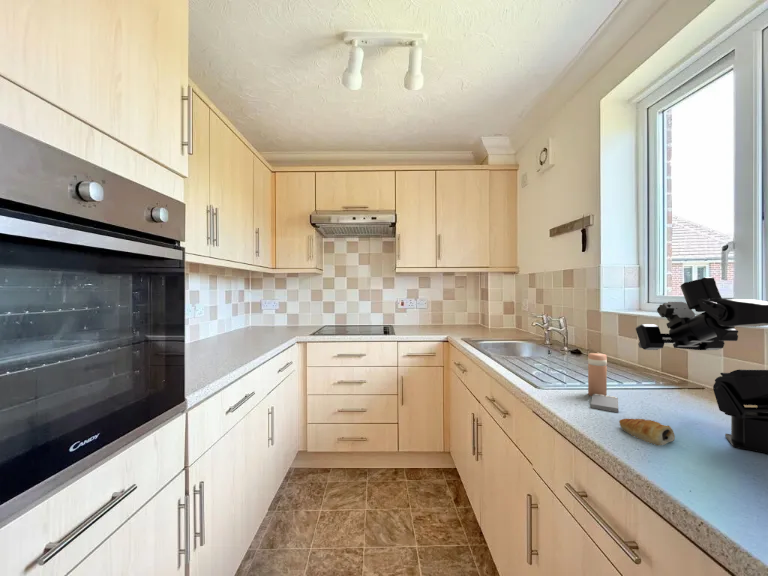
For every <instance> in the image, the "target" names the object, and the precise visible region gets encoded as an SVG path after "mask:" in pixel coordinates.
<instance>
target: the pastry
mask: <svg viewBox="0 0 768 576" xmlns="http://www.w3.org/2000/svg"><path fill="white" fill-rule="evenodd" d="M618 422H619V426H620V428H621V430H622V431H624V432H625V433H627V434H629V435H630V434H631V437H633V436H635V438H637V439H639V440H641V439H642V440H641V441H643V440H644V442H646V443H648V442H649V444H651V443H652V444H651V445H654V444H655V445H654V446H665V445H666V444H668V443H671V442H673V441H675V437H676V436H675V432H674V429H673V428H672V427H671V426H670V425H664V424H662V423H659V422H658V421H655V420H652V419H644V418H635V419H634V418H623V419H620V420H619V421H618Z"/></svg>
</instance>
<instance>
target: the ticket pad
mask: <svg viewBox="0 0 768 576" xmlns="http://www.w3.org/2000/svg"><path fill="white" fill-rule="evenodd" d="M591 397H592V398H591V402H590V408H591V409H597V410H602V411H606V412H607V411H609V412H615V413H619V398H618V397H616V396H611V395H606V396H604V395H599V394H593V395H592V396H591Z"/></svg>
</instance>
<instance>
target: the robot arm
mask: <svg viewBox="0 0 768 576" xmlns="http://www.w3.org/2000/svg"><path fill="white" fill-rule="evenodd" d="M680 290H681V291H682V294H683V297H684V299H685V301H668V302H663V303H662V304H658V305H659V306H658V307H657V308H656V312H657V314H659V316H660V317H661V318H665V319H667V321H668V322H667V323H666V327H667V329H669V331H668V333H662V332H661V329H660V327H659V325H657V324H652V323H651V324H650V323H646V324H645V323H644V324H642V323H641V324H639V325H637V326H636V328H635V331H636V334H637V337H638V340H639V343H638V347H639V349H643V350H647V351H658V350H661V349H664V346H665V344H672V346H673V348H674V349H680V350H682V349H684V350H693V351H718V350H722V349H724V346H725V342H737V341H738V339H739V335H738V333H739V330H738V329H736V327H739V328H740V327H742V328H744V327H745V328H746V327H747V328H748V327H752V328H753V327H766V326H768V301H766V300H761V299H753V298H743V299H742V298H741V299H740V298H727V297H726V298H725V297H724V298H722V296H721V295H722V294H720V291H719V289H718V286H717V282H716V280H715V278H714V277H711V276H710V277H709V276H707V277H706V276H703V277H702V278H700V279H695V280H690V281H687V282H683V283H682V284H680ZM693 310H695V312H698V313H699V314H697V315H696V314H695V312H694V311H693ZM720 375H721V376H718V377H716V378H714V383H713V387H712V389H713V394H714V396H715V400H716V403H717V406H718V410H719V411H720V412H723V413H724V414H725V415H727V416H729V417H730V418H731V419H730V421H731V423H730V425H731V426H730V428H731V429H730V431H731V432H730V433H725V435H724V436H725V438H726V439H727V440H728V441H729V443H730V445H732V447H733V448H737V449H743V450H747V451H753V452H758V453H764V454H768V369H736V370H733V371H730V372H720ZM748 406H749V407H748ZM750 406H753V407H750ZM754 406H755V407H754Z"/></svg>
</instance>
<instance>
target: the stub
mask: <svg viewBox="0 0 768 576" xmlns="http://www.w3.org/2000/svg"><path fill="white" fill-rule="evenodd" d="M587 356H588V357H587V364H588V366H587V367H588V369H587V370H588V371H587V372H588V373H587V374H588V375H587V377H588V378H587V382H588V384H587V395H589V396H590V397H592V395H593V394H599V395H604V396H606V395H607V394H608V393H607V391H608V390H607V386H608V385H607V383H608V382H607V378H608V377H607V375H608V372H607V370H608V367H607V366H608V362H607V361H608V359H607V358H608V355H607V354H604V353H599V352H597V353H596V352H590V353H588V354H587ZM607 396H608V395H607Z"/></svg>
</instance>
